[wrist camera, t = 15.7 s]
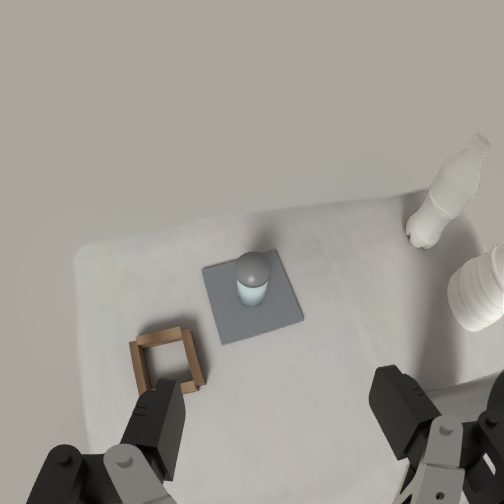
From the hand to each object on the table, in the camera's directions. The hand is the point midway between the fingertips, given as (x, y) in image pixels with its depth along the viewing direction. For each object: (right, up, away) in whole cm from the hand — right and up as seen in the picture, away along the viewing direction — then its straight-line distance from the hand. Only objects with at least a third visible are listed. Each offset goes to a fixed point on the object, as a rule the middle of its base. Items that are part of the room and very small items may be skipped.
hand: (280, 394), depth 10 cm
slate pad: (-1, -1, +31) cm, 31 cm away
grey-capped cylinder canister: (-1, 0, +31) cm, 31 cm away
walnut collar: (-13, -10, +25) cm, 30 cm away
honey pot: (+40, -4, +31) cm, 51 cm away
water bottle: (+31, +8, +38) cm, 50 cm away
